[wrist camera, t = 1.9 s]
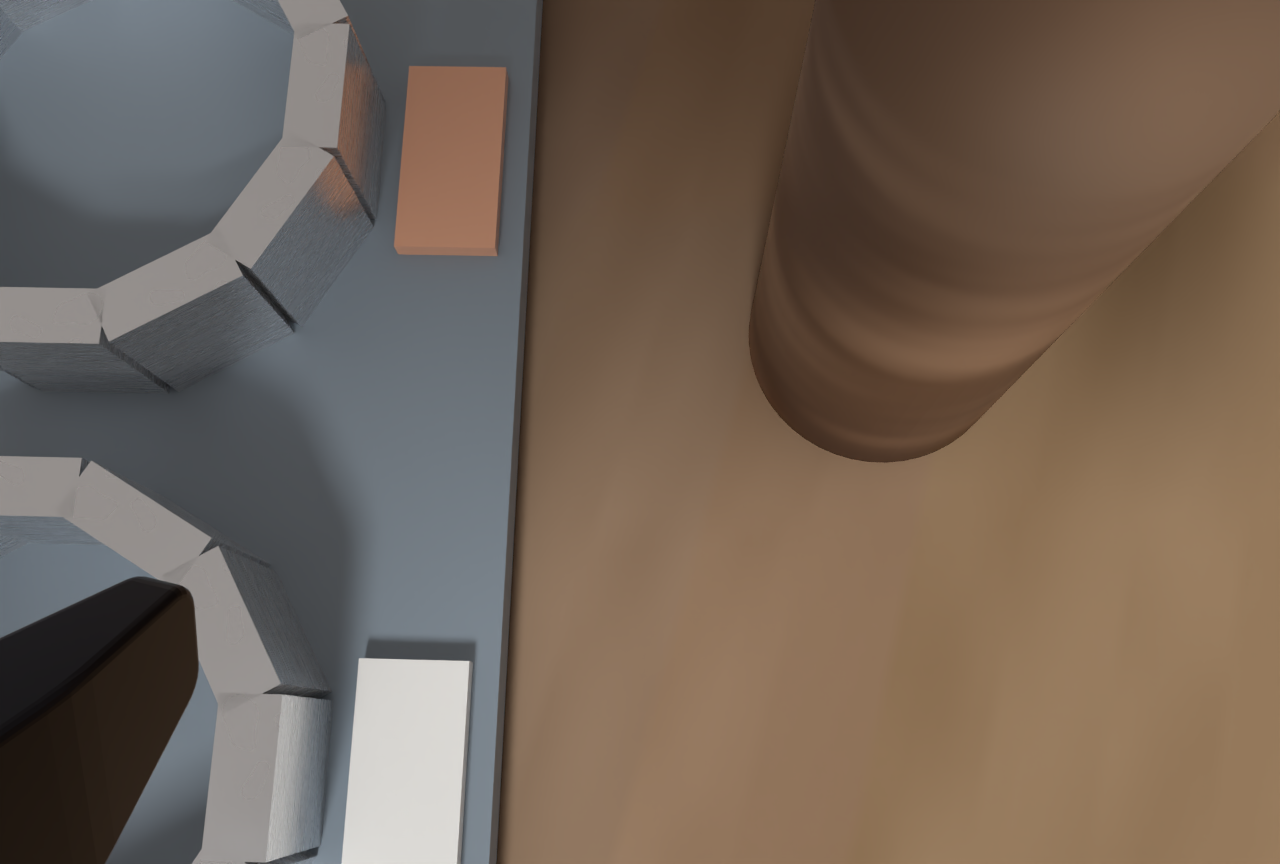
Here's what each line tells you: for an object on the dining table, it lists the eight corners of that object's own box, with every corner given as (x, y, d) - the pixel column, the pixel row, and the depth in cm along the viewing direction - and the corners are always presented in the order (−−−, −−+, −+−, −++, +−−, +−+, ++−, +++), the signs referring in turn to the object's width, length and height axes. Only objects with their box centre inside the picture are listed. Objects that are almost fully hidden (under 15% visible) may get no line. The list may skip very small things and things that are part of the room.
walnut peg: (1056, 377, 24) (1425, 35, 12) (841, 510, 23) (1018, 282, 12) (908, 178, 25) (1119, -306, 14) (700, 299, 24) (734, -98, 13)
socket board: (483, 1101, 21) (442, 1184, 17) (-410, 1071, 21) (-649, 1144, 17) (544, -38, 27) (525, -170, 23) (-157, -46, 27) (-294, -177, 23)
